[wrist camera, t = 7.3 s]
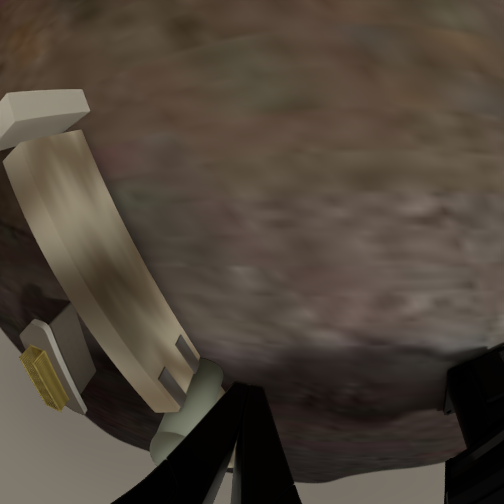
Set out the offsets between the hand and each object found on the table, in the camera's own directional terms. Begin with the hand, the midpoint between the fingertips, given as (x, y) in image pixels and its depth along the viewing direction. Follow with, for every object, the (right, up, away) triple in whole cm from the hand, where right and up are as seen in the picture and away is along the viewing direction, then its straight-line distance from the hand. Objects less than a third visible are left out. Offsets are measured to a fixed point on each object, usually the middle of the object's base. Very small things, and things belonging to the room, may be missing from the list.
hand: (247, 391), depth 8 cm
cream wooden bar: (-7, +4, +9) cm, 13 cm away
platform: (-15, -3, +15) cm, 21 cm away
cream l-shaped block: (-11, +11, +7) cm, 17 cm away
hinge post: (-3, -5, +13) cm, 15 cm away
